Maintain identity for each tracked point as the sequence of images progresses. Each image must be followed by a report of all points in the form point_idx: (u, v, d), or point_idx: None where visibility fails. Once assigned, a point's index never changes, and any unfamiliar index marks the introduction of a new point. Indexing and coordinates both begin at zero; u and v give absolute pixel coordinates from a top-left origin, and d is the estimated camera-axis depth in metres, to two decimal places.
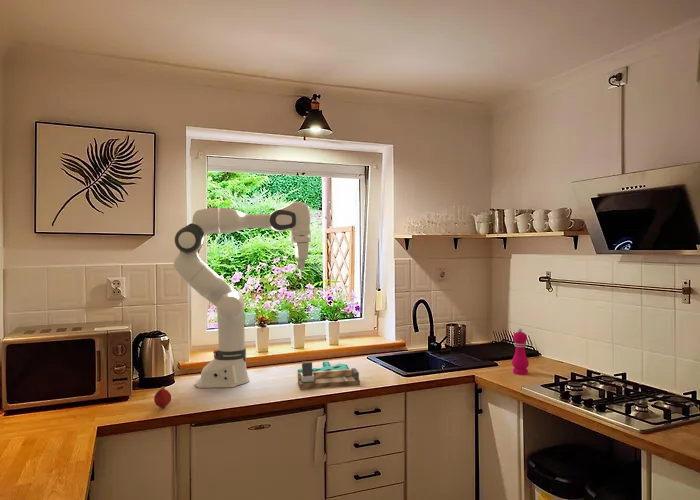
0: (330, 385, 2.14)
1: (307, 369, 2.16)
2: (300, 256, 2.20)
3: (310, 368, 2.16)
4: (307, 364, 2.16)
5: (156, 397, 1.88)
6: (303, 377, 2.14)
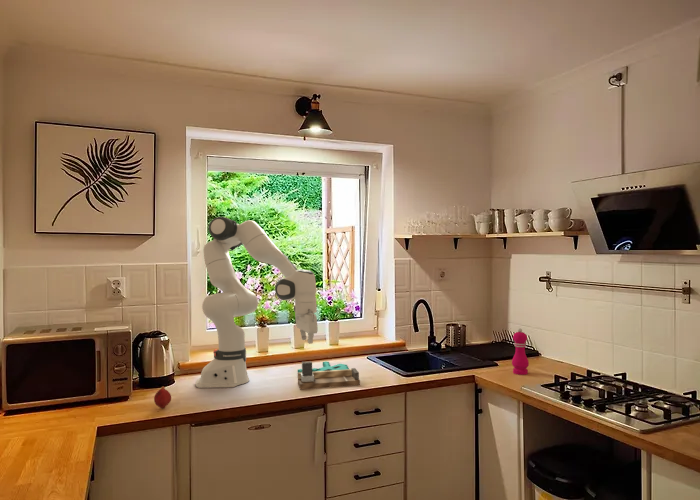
0: (330, 385, 2.14)
1: (307, 369, 2.16)
2: None
3: (310, 368, 2.16)
4: (307, 364, 2.16)
5: (156, 397, 1.88)
6: (303, 377, 2.14)
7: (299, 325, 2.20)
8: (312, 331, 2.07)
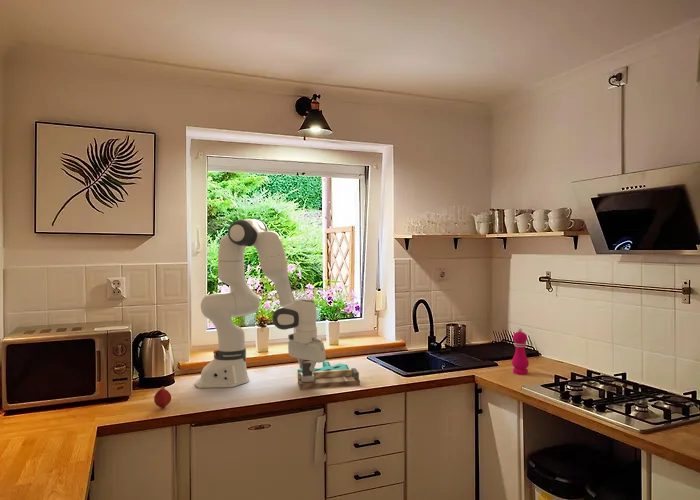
0: (330, 385, 2.14)
1: (307, 369, 2.16)
2: None
3: None
4: (307, 364, 2.16)
5: (156, 397, 1.88)
6: (303, 377, 2.14)
7: (296, 354, 2.19)
8: (321, 360, 2.10)
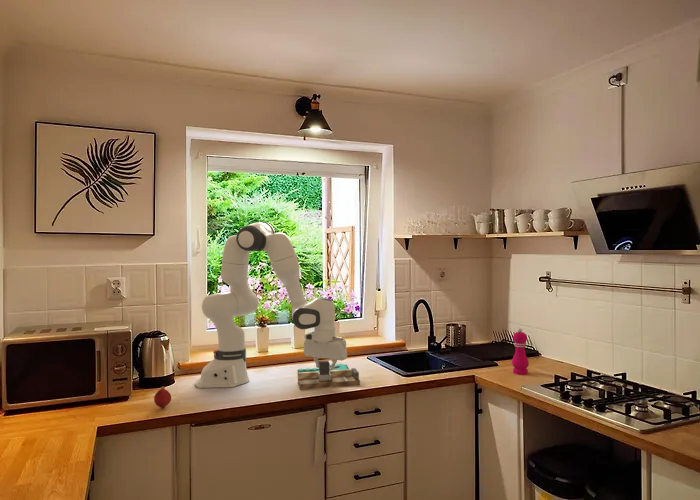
0: (330, 385, 2.14)
1: (324, 368, 2.17)
2: None
3: (327, 367, 2.17)
4: (324, 363, 2.17)
5: (156, 397, 1.88)
6: (320, 376, 2.15)
7: (313, 353, 2.20)
8: (344, 357, 2.13)
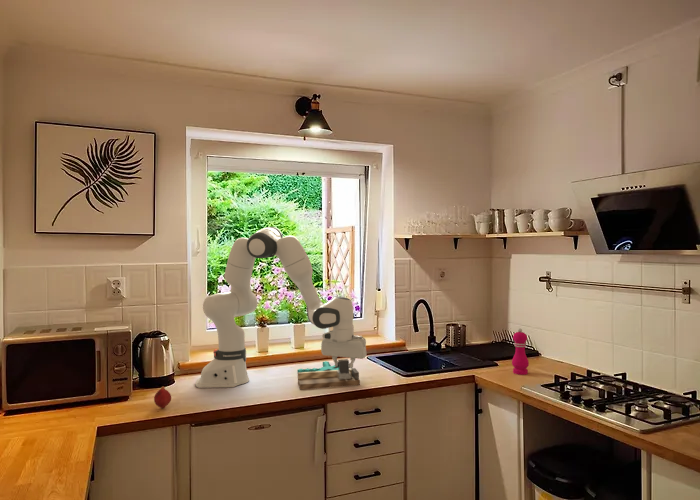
0: (330, 385, 2.14)
1: (343, 367, 2.19)
2: None
3: (347, 366, 2.19)
4: (344, 362, 2.19)
5: (156, 397, 1.88)
6: (340, 375, 2.17)
7: (332, 352, 2.21)
8: (364, 356, 2.15)
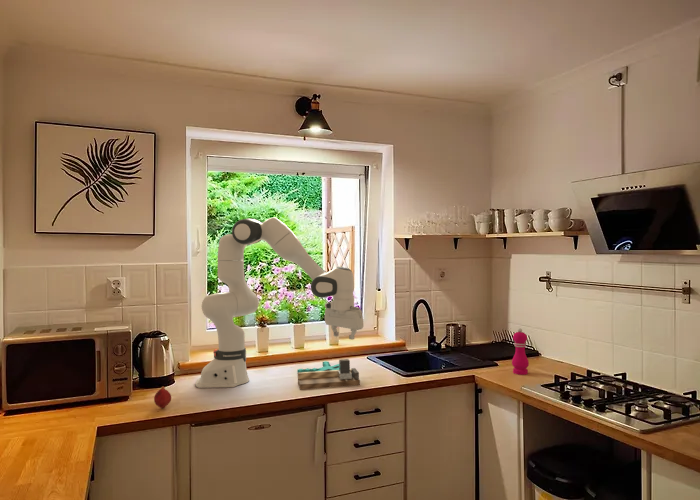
0: (330, 385, 2.14)
1: (344, 367, 2.19)
2: None
3: (348, 366, 2.19)
4: (345, 362, 2.19)
5: (156, 397, 1.88)
6: (341, 374, 2.17)
7: (333, 322, 2.22)
8: (360, 327, 2.13)
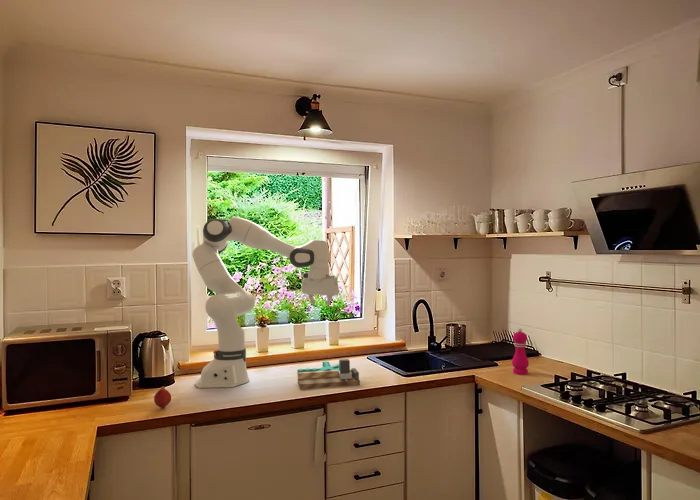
0: (330, 385, 2.14)
1: (344, 367, 2.19)
2: None
3: (348, 366, 2.19)
4: (345, 362, 2.19)
5: (156, 397, 1.88)
6: (341, 374, 2.17)
7: (310, 290, 2.41)
8: (335, 293, 2.33)
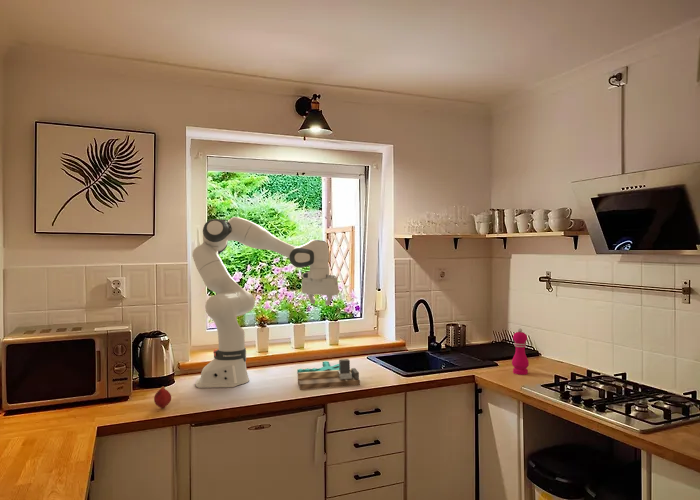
0: (330, 385, 2.14)
1: (344, 367, 2.19)
2: None
3: (348, 366, 2.19)
4: (345, 362, 2.19)
5: (156, 397, 1.88)
6: (341, 374, 2.17)
7: (310, 290, 2.41)
8: (335, 293, 2.33)
